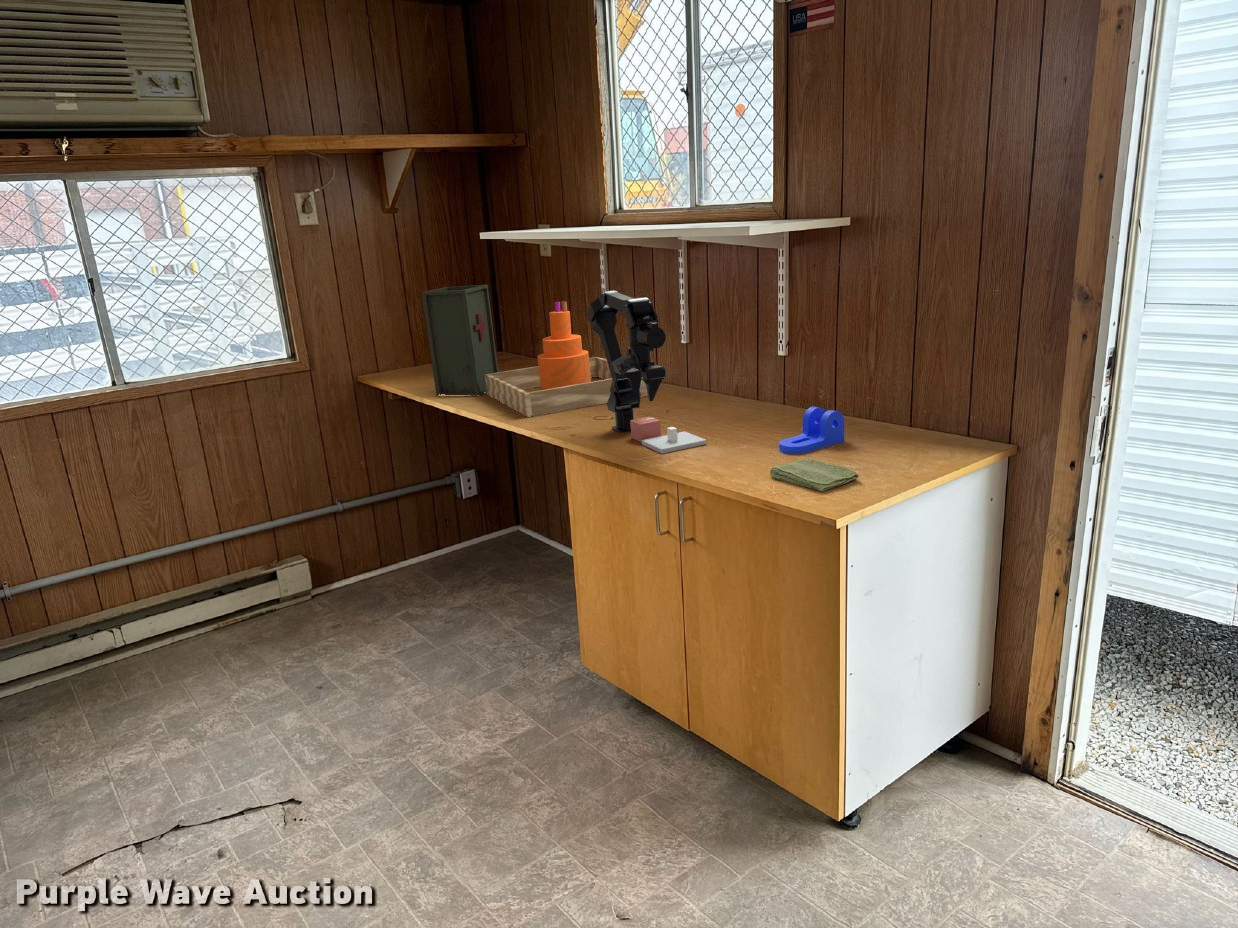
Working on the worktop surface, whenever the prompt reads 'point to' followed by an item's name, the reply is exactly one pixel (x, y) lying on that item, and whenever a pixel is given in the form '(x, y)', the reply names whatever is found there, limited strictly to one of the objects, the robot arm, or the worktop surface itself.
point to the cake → (562, 354)
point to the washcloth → (813, 474)
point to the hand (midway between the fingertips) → (643, 398)
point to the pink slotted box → (645, 428)
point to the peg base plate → (673, 441)
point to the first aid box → (460, 338)
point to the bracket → (816, 432)
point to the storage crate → (551, 390)
